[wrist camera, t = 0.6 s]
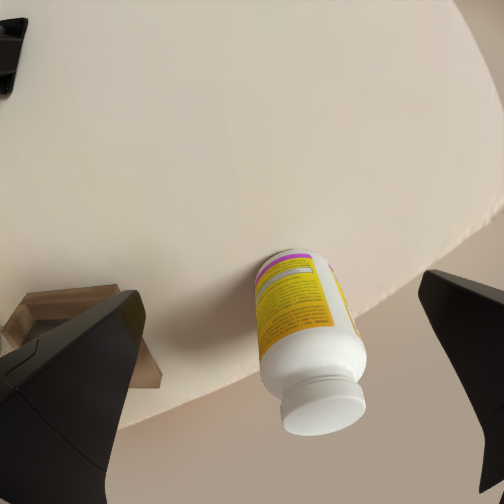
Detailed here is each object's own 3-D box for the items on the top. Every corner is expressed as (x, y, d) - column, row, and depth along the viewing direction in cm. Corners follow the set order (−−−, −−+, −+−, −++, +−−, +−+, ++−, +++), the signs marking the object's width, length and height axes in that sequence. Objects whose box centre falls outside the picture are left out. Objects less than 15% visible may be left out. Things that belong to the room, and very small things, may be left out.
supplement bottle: (238, 290, 26) (238, 431, 15) (285, 230, 23) (321, 371, 12) (300, 320, 28) (325, 447, 17) (348, 269, 25) (405, 397, 14)
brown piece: (27, 293, 26) (0, 331, 20) (116, 284, 25) (93, 332, 20) (79, 372, 32) (65, 409, 27) (162, 374, 32) (153, 418, 27)
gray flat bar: (36, 319, 25) (20, 347, 21) (113, 316, 24) (99, 350, 21) (42, 328, 25) (26, 355, 22) (118, 326, 25) (106, 359, 22)
